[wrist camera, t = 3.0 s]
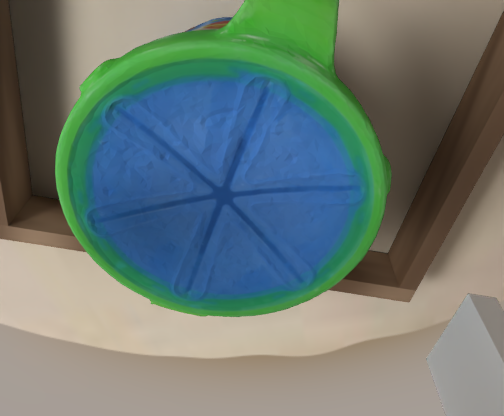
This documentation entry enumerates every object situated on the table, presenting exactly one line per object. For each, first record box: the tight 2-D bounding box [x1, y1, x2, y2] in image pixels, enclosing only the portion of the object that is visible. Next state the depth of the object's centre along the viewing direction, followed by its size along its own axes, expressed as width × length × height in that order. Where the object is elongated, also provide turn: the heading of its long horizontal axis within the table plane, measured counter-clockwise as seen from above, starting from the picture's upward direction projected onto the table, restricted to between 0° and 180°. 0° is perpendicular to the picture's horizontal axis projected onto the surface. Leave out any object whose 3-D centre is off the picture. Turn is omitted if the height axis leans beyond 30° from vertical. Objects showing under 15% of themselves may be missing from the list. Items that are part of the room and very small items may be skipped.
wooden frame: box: [0, 0, 504, 302], centre depth 21 cm, size 24×19×3 cm
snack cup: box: [55, 0, 392, 317], centre depth 18 cm, size 16×10×10 cm
